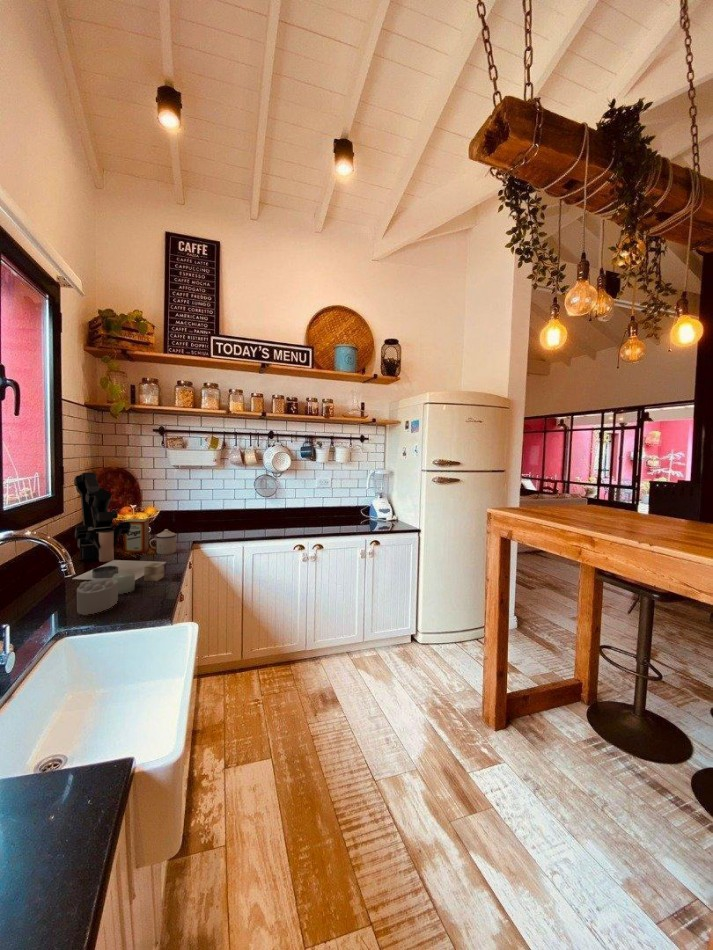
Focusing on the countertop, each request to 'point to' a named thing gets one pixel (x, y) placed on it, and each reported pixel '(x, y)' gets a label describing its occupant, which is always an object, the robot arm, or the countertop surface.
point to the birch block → (153, 571)
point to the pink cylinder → (106, 546)
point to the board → (121, 568)
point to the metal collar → (104, 572)
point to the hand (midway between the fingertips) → (107, 547)
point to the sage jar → (125, 582)
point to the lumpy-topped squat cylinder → (96, 595)
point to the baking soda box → (137, 536)
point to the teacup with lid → (165, 542)
